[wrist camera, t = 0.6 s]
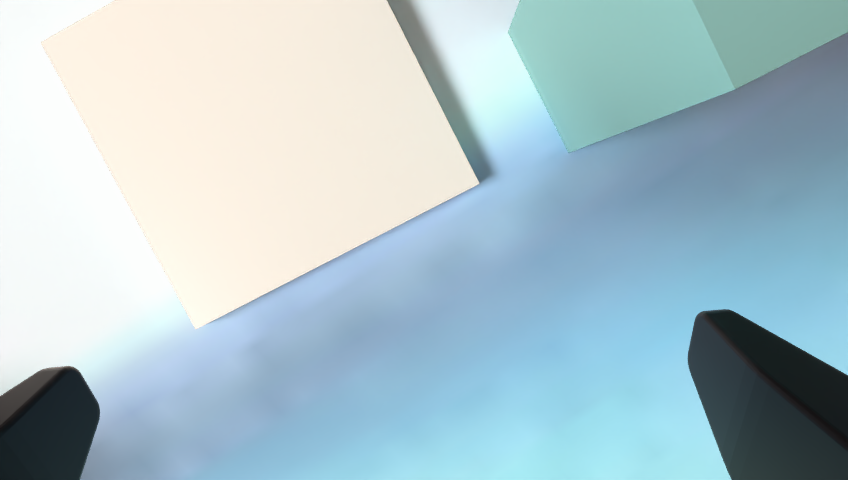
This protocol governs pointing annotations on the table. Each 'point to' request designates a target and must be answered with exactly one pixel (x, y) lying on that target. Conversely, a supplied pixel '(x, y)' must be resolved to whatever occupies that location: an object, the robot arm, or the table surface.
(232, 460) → the table surface
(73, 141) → the table surface
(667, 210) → the table surface
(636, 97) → the teal block
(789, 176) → the table surface
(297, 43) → the pad
